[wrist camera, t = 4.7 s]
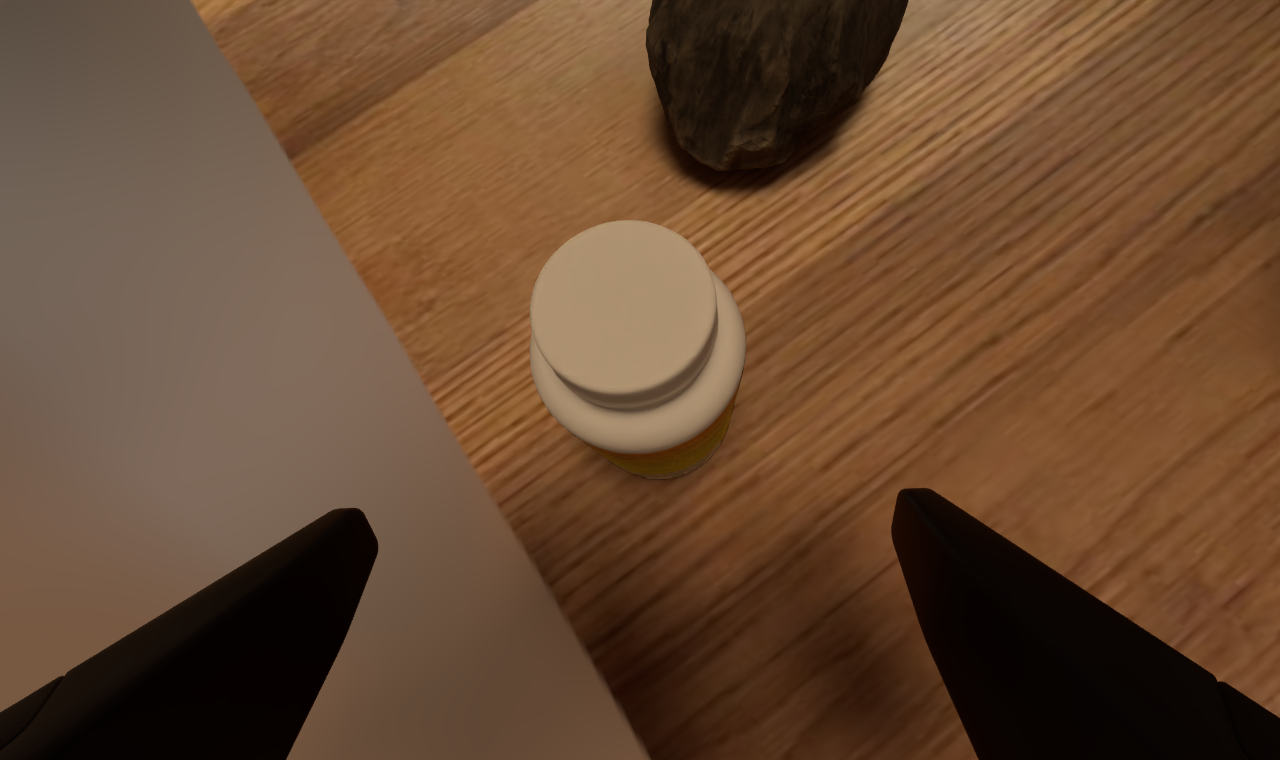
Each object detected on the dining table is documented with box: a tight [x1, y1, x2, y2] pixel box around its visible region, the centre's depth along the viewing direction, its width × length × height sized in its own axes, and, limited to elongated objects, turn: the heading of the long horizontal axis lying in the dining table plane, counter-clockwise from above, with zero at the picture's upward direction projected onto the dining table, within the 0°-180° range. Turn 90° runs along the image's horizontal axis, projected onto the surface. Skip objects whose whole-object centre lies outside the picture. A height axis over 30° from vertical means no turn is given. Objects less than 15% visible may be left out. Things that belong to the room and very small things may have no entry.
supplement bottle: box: [530, 220, 746, 479], centre depth 15 cm, size 6×6×10 cm
